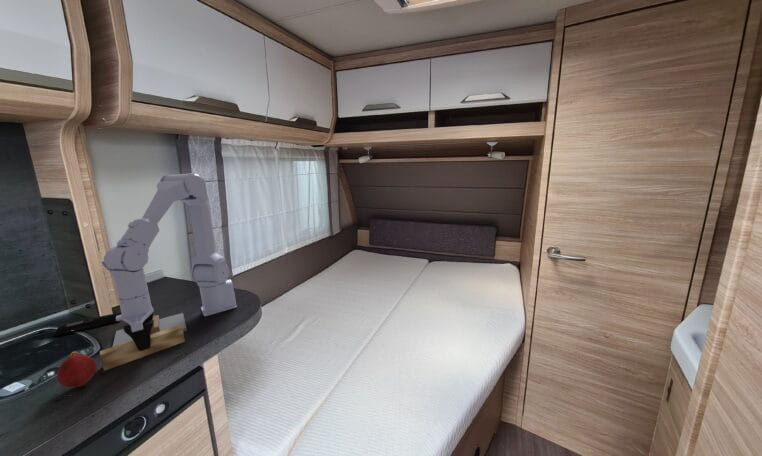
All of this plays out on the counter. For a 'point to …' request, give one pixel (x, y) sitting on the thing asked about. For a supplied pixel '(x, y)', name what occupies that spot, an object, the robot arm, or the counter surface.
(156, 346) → the plank
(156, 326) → the fulcrum
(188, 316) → the counter surface
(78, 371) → the red rounded lump
